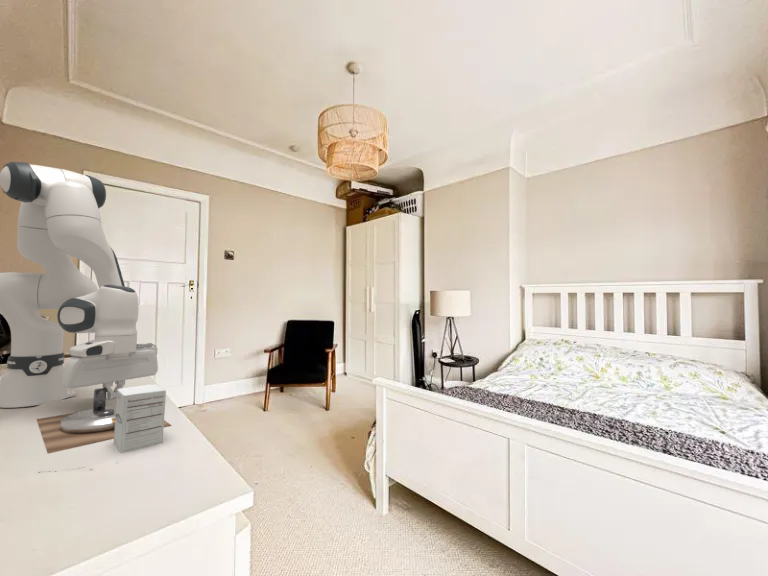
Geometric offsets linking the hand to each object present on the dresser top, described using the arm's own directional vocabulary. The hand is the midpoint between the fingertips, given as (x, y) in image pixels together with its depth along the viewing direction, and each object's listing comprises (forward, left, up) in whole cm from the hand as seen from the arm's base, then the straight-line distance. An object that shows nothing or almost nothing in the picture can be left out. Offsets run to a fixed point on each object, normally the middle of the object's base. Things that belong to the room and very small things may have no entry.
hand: (113, 398), depth 88 cm
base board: (+7, -3, -5) cm, 9 cm away
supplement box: (+27, 0, -6) cm, 27 cm away
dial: (+8, -2, -3) cm, 9 cm away
